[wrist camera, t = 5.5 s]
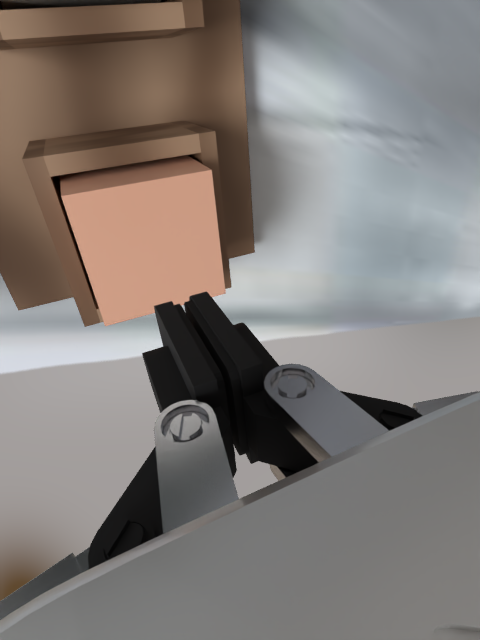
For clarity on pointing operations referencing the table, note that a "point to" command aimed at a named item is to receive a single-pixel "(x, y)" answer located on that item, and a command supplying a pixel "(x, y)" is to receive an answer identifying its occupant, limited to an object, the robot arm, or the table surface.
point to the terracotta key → (146, 234)
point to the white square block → (66, 3)
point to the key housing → (113, 124)
